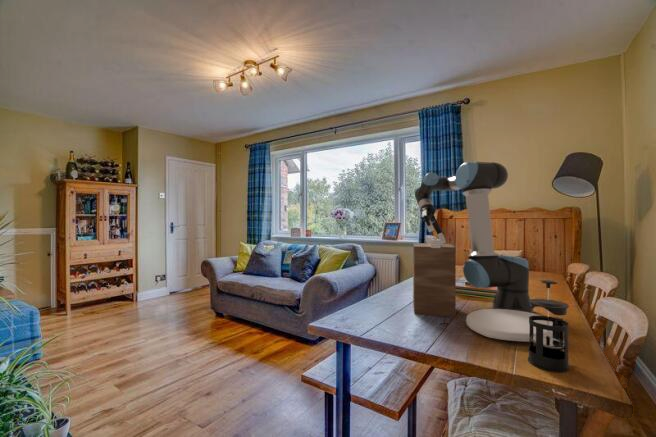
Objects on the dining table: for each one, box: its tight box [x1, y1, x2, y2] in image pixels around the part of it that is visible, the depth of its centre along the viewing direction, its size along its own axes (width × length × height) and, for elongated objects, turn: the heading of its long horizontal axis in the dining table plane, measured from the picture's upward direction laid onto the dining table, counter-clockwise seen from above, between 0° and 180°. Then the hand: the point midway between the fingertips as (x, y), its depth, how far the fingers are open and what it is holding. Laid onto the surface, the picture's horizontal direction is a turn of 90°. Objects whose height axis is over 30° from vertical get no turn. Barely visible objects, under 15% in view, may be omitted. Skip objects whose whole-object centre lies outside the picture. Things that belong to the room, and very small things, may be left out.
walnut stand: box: [412, 242, 457, 318], centre depth 135 cm, size 16×16×28 cm
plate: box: [465, 308, 553, 343], centre depth 110 cm, size 28×6×27 cm
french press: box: [527, 279, 571, 373], centre depth 86 cm, size 12×9×23 cm
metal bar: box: [425, 234, 441, 248], centre depth 139 cm, size 32×4×3 cm, turn 166°
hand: (437, 237), depth 161 cm, fingers open, 13 cm apart
